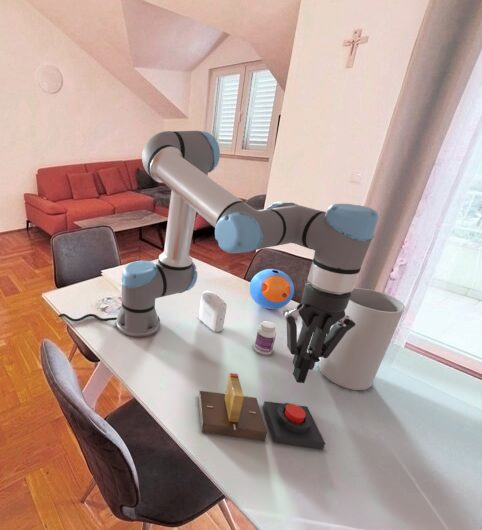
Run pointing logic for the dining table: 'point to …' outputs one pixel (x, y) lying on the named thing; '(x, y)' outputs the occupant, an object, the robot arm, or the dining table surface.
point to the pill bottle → (265, 338)
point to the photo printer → (212, 310)
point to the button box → (292, 427)
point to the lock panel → (218, 421)
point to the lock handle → (233, 397)
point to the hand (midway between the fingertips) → (298, 378)
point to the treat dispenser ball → (271, 289)
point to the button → (295, 413)
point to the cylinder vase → (363, 339)
